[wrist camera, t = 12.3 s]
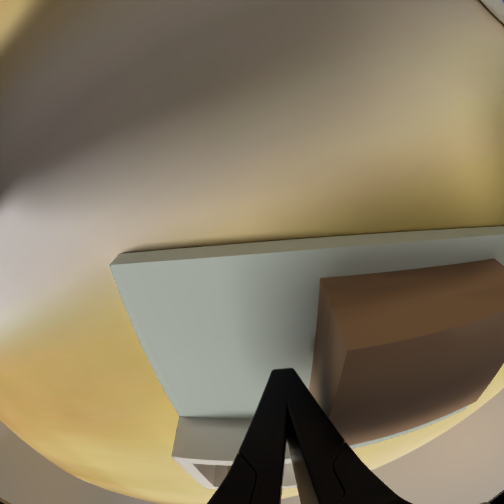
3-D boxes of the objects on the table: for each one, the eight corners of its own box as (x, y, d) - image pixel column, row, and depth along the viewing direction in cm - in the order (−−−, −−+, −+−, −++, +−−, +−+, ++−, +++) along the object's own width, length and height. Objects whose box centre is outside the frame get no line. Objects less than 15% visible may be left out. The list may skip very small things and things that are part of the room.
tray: (179, 416, 12) (171, 456, 9) (317, 412, 11) (323, 454, 9) (207, 459, 15) (204, 488, 13) (307, 456, 14) (310, 485, 12)
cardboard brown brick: (320, 278, 8) (346, 351, 5) (494, 258, 8) (538, 296, 5) (308, 392, 11) (317, 451, 8) (452, 360, 10) (475, 401, 8)
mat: (119, 253, 9) (109, 265, 8) (545, 224, 8) (554, 229, 7) (208, 450, 16) (207, 459, 15) (461, 402, 15) (464, 409, 14)
